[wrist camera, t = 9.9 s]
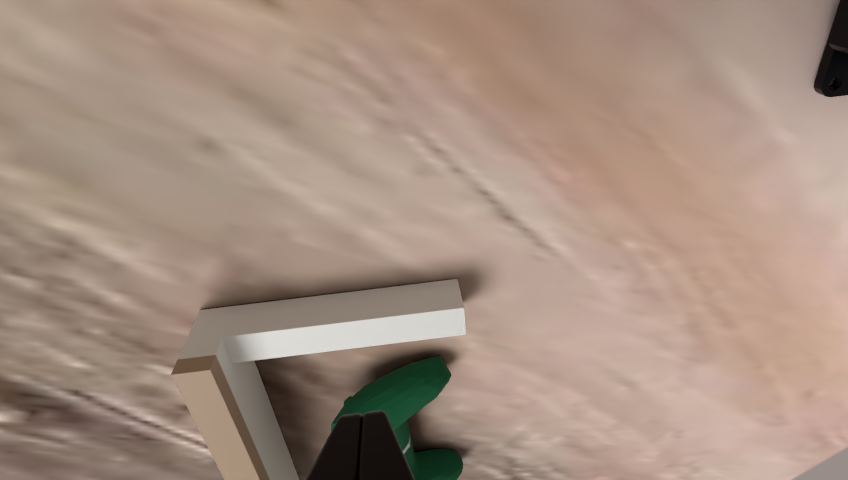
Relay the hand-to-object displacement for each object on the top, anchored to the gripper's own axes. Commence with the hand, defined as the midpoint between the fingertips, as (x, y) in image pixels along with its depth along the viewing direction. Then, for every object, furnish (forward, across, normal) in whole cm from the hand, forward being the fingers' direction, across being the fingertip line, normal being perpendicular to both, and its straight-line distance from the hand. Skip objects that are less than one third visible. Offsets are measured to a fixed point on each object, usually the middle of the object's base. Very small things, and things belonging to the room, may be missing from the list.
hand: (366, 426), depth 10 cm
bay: (+12, +2, +15) cm, 19 cm away
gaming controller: (+12, +1, +15) cm, 19 cm away
